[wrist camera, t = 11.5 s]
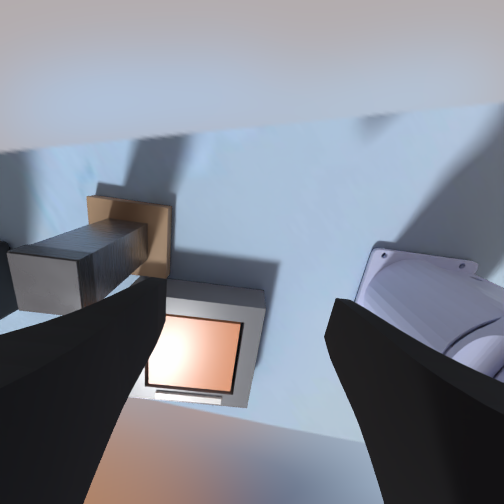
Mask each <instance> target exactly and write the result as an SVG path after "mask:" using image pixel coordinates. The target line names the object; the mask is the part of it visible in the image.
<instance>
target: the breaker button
mask: <svg viewBox="0 0 504 504" xmlns="http://www.w3.org/2000/svg"><path fill="white" fill-rule="evenodd" d="M240 325H241V322H235V321H227V320H218V319H209V318H201V317H192V316H183V315H174V314H166V321H165V324H164V327H163V330H162V332H161V335H160V337H159V340H158V342H157V344H156V346H155V348H154V350H153V352H152V354H151V356H150V358H149V384H159V385H170V386H180V387H190V388H201V389H211V390H221V391H230V389H231V383H232V376H233V370H234V364H235V357H236V351H237V344H238V338H239V331H240Z"/></svg>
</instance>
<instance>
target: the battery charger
mask: <svg viewBox="0 0 504 504" xmlns="http://www.w3.org/2000/svg"><path fill="white" fill-rule="evenodd" d="M9 250H10V249H9V245H8V243H6V242H3V241H1V240H0V320H1V319H2V318H4V317H6V316H8V315H9V314H11V313H13V312H15V311H16V310H18V304H17V299H16V295H15V290H14V285H13V281H12V276H11V272H10V267H9V262H8V258H7V253H8V252H7V251H9Z"/></svg>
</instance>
